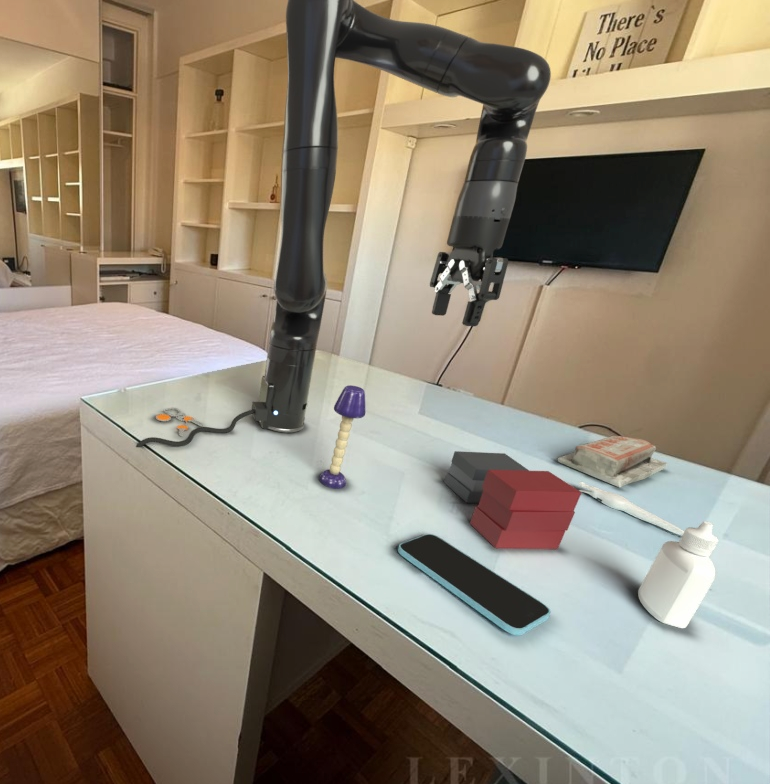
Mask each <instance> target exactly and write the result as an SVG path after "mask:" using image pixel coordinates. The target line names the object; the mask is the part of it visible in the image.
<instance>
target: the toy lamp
mask: <svg viewBox="0 0 770 784" xmlns="http://www.w3.org/2000/svg"><path fill="white" fill-rule="evenodd" d="M333 410H334V412H335V413H336V414H338V415H340V416H341V421H340V424H339V430H338V431H337V438H336V440H335V447H334V449H333V455H332V457H331V463H330V465H329V468H328V469H326V470H325V469H324V470H323V471H322V472H321V474H320V475H319V478H318V480H319V482H320V483H321V484H322V485H323V486H326V487H327V488H330V489H334V490H335V489H337V490H339V489H343V488H345V487H346V484H347V480H346V477H345V475H344V474H343V472H341V469H342V467H341V466H342V464H343V463H344V462H343V461H344V456H345V455H346V448H347V447H348V440H349V438H350V435H351V434H350V432H351V430H352V427H353V425H352V423H353V421H354V419H362V418H364V417H365V416H366V393H365V389H364V388H363V387H361V386H357V385H349V384H348V385H345V386H344V387H343V389H342V391H341V392H340V394H339V396H338V398H337V400H336V401H335V403H334V405H333Z"/></svg>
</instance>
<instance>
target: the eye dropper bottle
mask: <svg viewBox="0 0 770 784" xmlns="http://www.w3.org/2000/svg"><path fill="white" fill-rule="evenodd" d="M713 528H714V524H713V523H711V522H709V521H705V520H704V521H702V522H701V524H699V526H698V527H697V526H696V527H693V526H690V527H686V528H685V530H684V531H685V532H684V533H683V535H681V537H680V539H679V541H674V540H668V541H665V542H664V543H663V544H662V546H661V547H660V548H659V551H658V552H657V554H656V556H655V557H654V560H653V561H652V564H651V565H650V567H649V569H648V571H647V573H646V574H645V577H644V578H643V580H642V583H641V584H640V585H639V588H638V590H637V594H638V595H637V596H638V599H639V601H640V603H641V605H642V606H643V608H644V609H645V610H646V611H647V612H648V613H649V614H650V615H651V616H652V617H653V618H655V619H656V620H657V621H659V622H660V623H662V624H664V625H668V626H672V627H674V628H675V627H676V628H679V629H685V628H687V627H688V625H689V623H690V622H691V620H692V619H693V617H694V615H695V614H696V612H697V610H698V608H699V607H700V605H701V603H702V602H703V600H704V598H705V596H706V595H707V594H708V592H709V590H710V588H711V586H712V584H713V582H714V580H715V578H716V568H715V565H714V563H713V560H712V559H711V557H710V556H711V555H712V553H713V551H714V549H715V548H716V546H717V545H718V543H719V538H718V537H717V536H715V534H713Z"/></svg>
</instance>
